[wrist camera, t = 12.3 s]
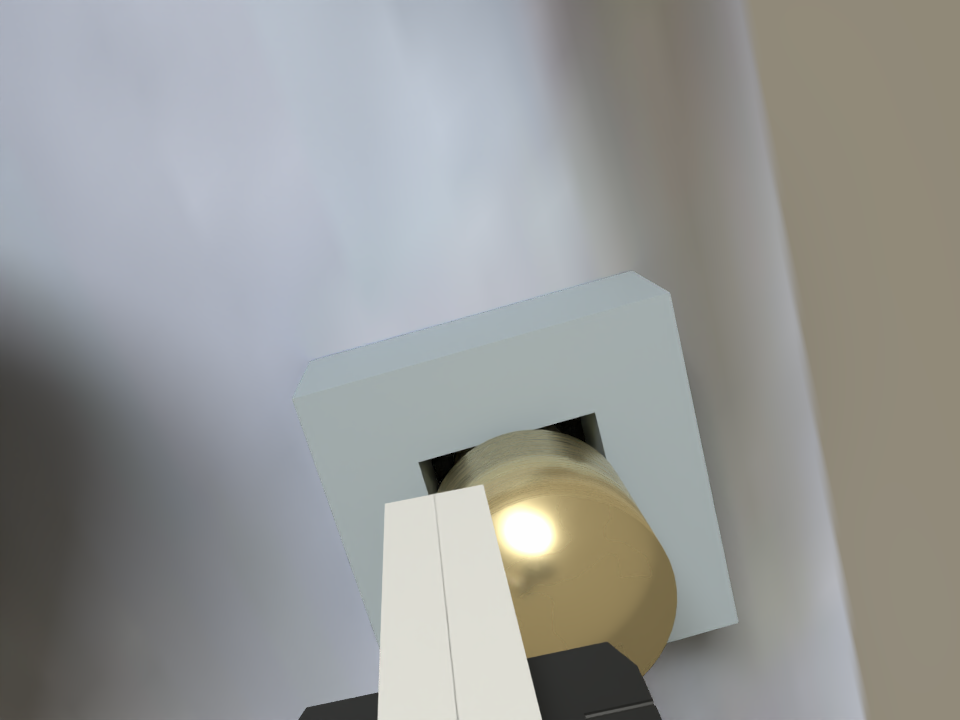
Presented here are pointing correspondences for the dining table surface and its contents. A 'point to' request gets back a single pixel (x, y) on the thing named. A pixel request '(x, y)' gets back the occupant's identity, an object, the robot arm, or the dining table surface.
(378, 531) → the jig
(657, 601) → the gold cylinder
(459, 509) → the robot arm
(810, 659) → the dining table surface
